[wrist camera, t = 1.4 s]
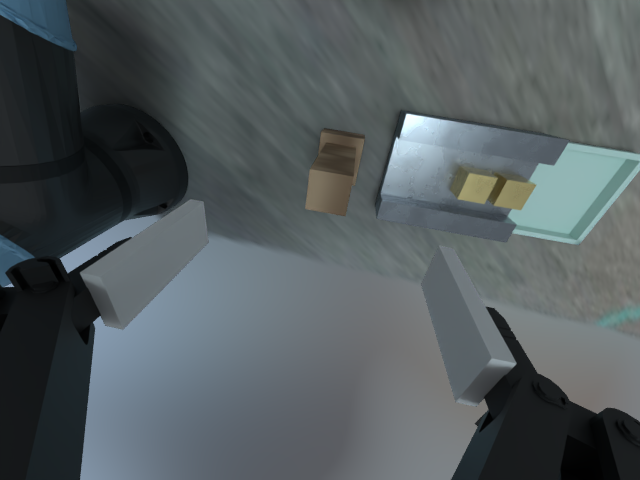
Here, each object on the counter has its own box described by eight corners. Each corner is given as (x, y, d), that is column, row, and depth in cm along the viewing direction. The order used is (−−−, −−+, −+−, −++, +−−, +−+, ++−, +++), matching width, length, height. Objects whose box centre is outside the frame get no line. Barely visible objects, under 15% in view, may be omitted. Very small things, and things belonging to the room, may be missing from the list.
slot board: (375, 205, 36) (376, 218, 32) (400, 110, 29) (406, 113, 26) (491, 226, 35) (506, 242, 31) (543, 133, 28) (570, 140, 25)
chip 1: (449, 189, 31) (457, 199, 29) (460, 165, 30) (469, 173, 27) (474, 194, 31) (484, 204, 28) (486, 170, 29) (497, 178, 27)
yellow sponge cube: (482, 195, 31) (493, 205, 28) (495, 171, 29) (507, 179, 27) (507, 200, 31) (521, 210, 28) (521, 176, 29) (536, 184, 27)
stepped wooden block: (318, 171, 34) (295, 217, 23) (324, 128, 31) (301, 154, 20) (355, 178, 34) (351, 228, 22) (364, 134, 31) (366, 165, 19)
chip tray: (492, 223, 35) (499, 230, 33) (541, 136, 29) (552, 140, 27) (567, 237, 34) (578, 245, 32) (633, 152, 28) (651, 156, 27)
